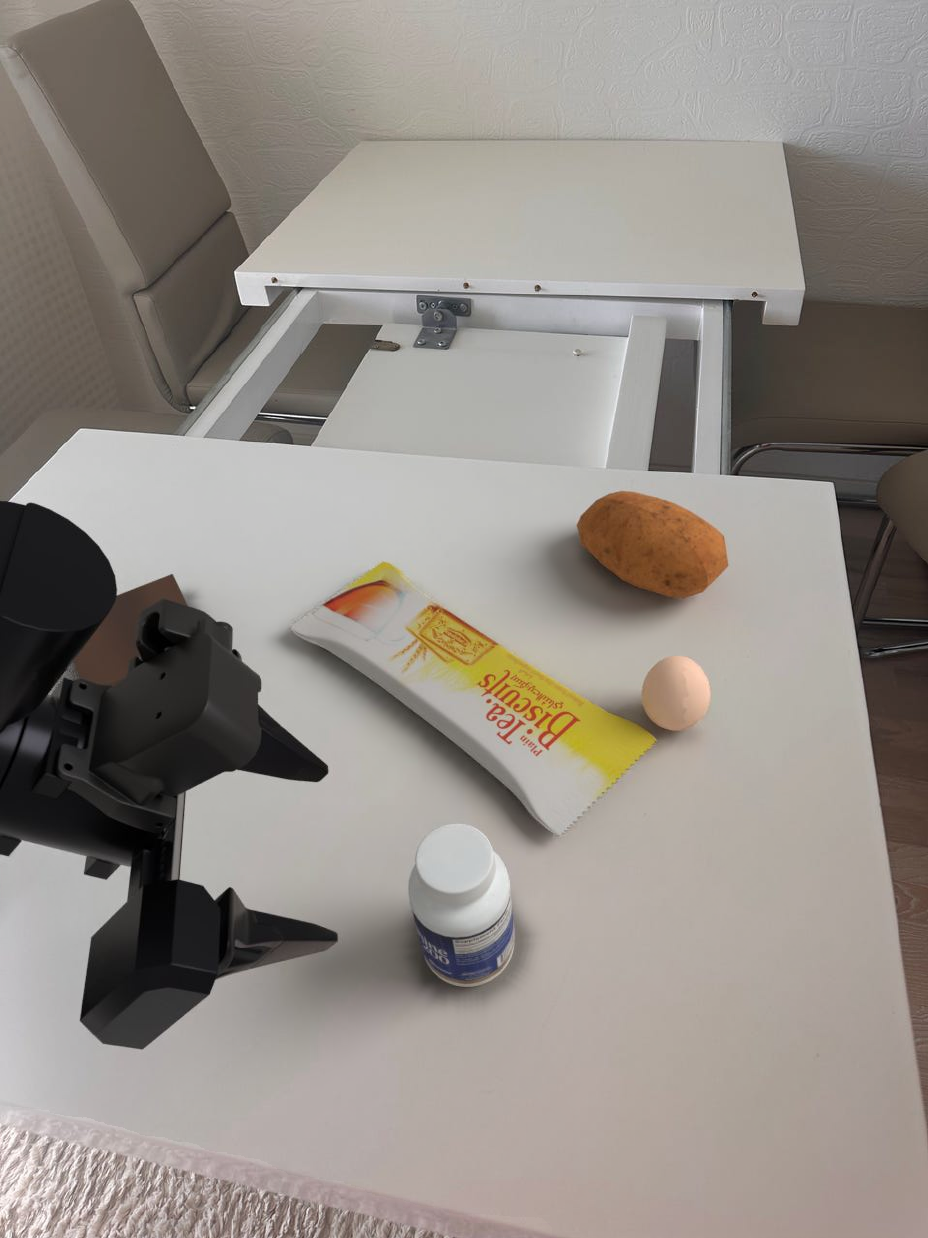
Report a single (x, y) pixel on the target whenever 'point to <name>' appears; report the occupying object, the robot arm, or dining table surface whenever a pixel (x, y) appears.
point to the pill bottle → (462, 905)
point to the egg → (676, 693)
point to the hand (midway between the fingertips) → (328, 852)
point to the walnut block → (122, 632)
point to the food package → (479, 695)
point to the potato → (653, 543)
